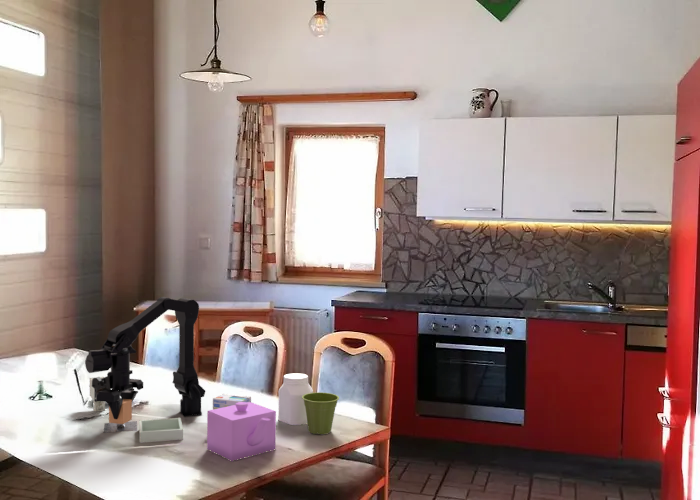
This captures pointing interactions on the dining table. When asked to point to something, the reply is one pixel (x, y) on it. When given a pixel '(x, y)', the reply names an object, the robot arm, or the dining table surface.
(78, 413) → the dining table surface
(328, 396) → the plant pot
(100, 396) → the robot arm
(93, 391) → the pneumatic valve
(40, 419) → the dining table surface
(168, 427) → the tray
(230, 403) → the light bulb box
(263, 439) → the lilac knobbed box
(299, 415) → the jar
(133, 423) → the stud plate
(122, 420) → the terracotta orange cube
